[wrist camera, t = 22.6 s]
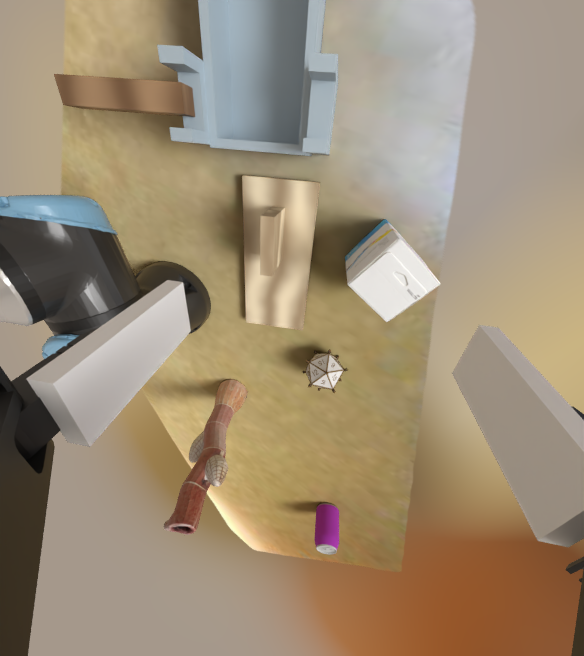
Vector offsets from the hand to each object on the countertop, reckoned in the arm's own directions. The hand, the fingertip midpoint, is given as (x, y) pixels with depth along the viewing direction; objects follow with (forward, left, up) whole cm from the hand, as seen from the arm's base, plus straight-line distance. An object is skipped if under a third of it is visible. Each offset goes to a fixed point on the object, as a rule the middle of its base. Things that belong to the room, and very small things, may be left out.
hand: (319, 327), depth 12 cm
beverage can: (+13, -94, -35) cm, 101 cm away
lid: (-8, -9, -34) cm, 36 cm away
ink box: (+9, -6, -35) cm, 36 cm away
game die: (+3, -29, -35) cm, 45 cm away
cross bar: (-24, +11, -26) cm, 37 cm away
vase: (-17, -43, -35) cm, 58 cm away
